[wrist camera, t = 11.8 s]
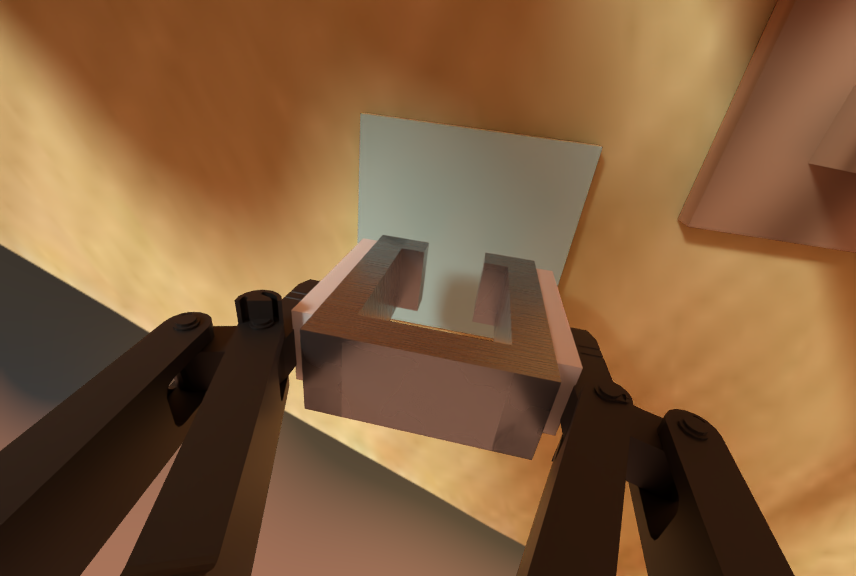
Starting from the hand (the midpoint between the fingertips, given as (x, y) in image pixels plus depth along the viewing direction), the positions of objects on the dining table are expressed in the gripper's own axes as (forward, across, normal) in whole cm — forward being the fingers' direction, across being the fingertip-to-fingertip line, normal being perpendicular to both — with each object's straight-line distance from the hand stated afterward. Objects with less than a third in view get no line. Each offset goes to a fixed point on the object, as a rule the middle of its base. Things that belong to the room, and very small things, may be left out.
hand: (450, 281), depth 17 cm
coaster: (+5, 0, 0) cm, 5 cm away
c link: (+1, 0, 0) cm, 1 cm away
